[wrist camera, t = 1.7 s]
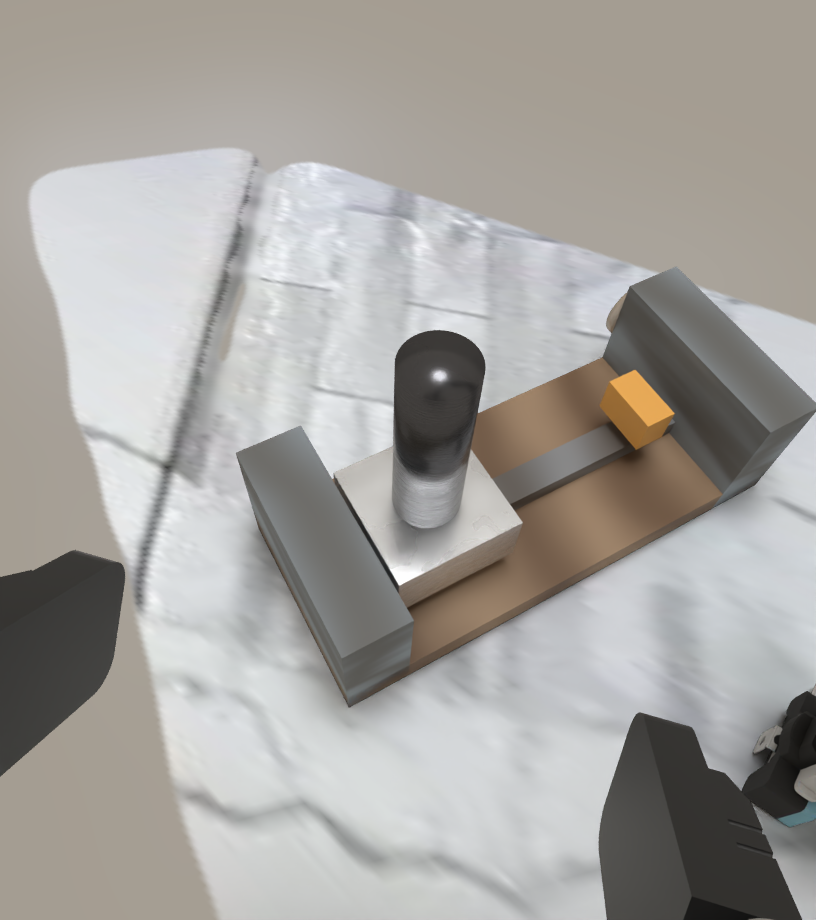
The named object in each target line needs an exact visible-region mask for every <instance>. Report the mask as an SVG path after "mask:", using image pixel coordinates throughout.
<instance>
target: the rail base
mask: <svg viewBox="0 0 816 920" xmlns="http://www.w3.org/2000/svg"><path fill="white" fill-rule="evenodd" d="M606 326H607V329H608V330H609V331H610V332H611V333H612V334H611V337H610V339H609V342H608V345H607V347H606V350H605V352H604V355H603V357H602V358H600V359H598V360H596V361H594V362H591V363H589V364H587V365H585V366H582V367H580V368H578V369H576V370H574V371H571V372H569V373H567V374H565V375H562V376H560V377H558V378H556V379H554V380H551V381H549V382H547V383H545V384H542V385H540V386H538V387H536V388H534V389H531V390H529V391H527V392H525V393H522V394H520V395H518V396H516V397H514V398H511V399H509V400H507V401H505V402H503V403H500V404H498V405H496V406H494V407H491V408H489V409H487V410H485V411H483V412H480V413H478V414H477V418H476V424H475V429H474V435H473V440H472V446H471V450H472V451H473V453H474V454H475V456H476V457H477V458H478V460H479V461H480V463H481V464H482V466H483V467H484V468H485V470H486V471H487V473H488V474H489V475H490V477H491V478H492V480H493V481H494V482H495V484H496V485H497V487H498V488H499V490H500V491H501V492H502V494H503V495H504V497H505V498H506V499H507V501H508V502H509V504H510V505H511V507H512V508H513V509H514V511H515V512H516V514H517V515H518V516H519V518H520V519H521V521H522V522H523V524H522V527H521V530H520V533H519V536H518V538H517V541H516V544H515V547H514V550H513V553H511V554H509V555H507V556H505V557H503V558H502V559H500V560H498V561H496V562H494V563H492V564H490V565H488V566H486V567H484V568H482V569H480V570H478V571H477V572H475V573H473V574H471V575H469V576H467V577H465V578H463V579H461V580H459V581H457V582H455V583H453V584H451V585H450V586H448V587H446V588H444V589H442V590H440V591H438V592H436V593H434V594H432V595H430V596H428V597H426V598H425V599H423V600H421V601H419V602H417V603H415V604H413V605H411V606H409V607H407V608H406V606H405V604H404V602H403V601H402V599H401V597H400V595H399V594H398V592H397V590H396V589H395V587H394V585H393V583H392V582H391V580H390V578H389V577H388V575H387V573H386V571H385V570H384V568H383V566H382V564H381V563H380V561H379V559H378V558H377V556H376V554H375V552H374V551H373V549H372V547H371V546H370V544H369V542H368V540H367V539H366V537H365V535H364V533H363V532H362V530H361V528H360V527H359V525H358V523H357V521H356V520H355V518H354V516H353V515H352V513H351V511H350V509H349V508H348V506H347V504H346V502H345V501H344V499H343V497H342V496H341V494H340V492H339V490H338V489H337V487H336V485H335V483H334V479H332V478H331V477H330V475H329V473H328V472H327V470H326V468H325V466H324V465H323V463H322V461H321V459H320V458H319V456H318V454H317V453H316V451H315V449H314V447H313V446H312V444H311V442H310V441H309V439H308V437H307V435H306V434H305V432H304V430H303V428H302V427H301V426H298V427H296V428H294V429H291V430H289V431H287V432H284V433H282V434H279V435H277V436H275V437H272V438H270V439H268V440H265V441H263V442H261V443H258V444H256V445H253V446H251V447H249V448H246V449H244V450H242V451H239V452H237V453H236V455H237V458H238V462H239V465H240V468H241V472H242V475H243V478H244V481H245V485H246V488H247V491H248V495H249V498H250V501H251V504H252V508H253V511H254V514H255V517H256V521H257V524H258V527H259V530H260V532H261V534H262V536H263V538H264V540H265V542H266V544H267V546H268V548H269V550H270V552H271V554H272V556H273V558H274V559H275V561H276V563H277V565H278V567H279V569H280V571H281V573H282V575H283V577H284V579H285V581H286V583H287V585H288V587H289V589H290V591H291V593H292V595H293V597H294V599H295V601H296V603H297V605H298V607H299V609H300V611H301V613H302V615H303V617H304V619H305V621H306V623H307V625H308V627H309V629H310V631H311V633H312V635H313V637H314V639H315V641H316V643H317V645H318V647H319V649H320V651H321V653H322V655H323V657H324V659H325V661H326V663H327V665H328V667H329V669H330V671H331V673H332V675H333V677H334V679H335V681H336V683H337V685H338V687H339V689H340V691H341V693H342V695H343V697H344V699H345V700H346V702H347V704H348V706H349V707H351V706H353V705H354V704H356V703H358V702H360V701H362V700H364V699H365V698H367V697H369V696H371V695H373V694H374V693H376V692H378V691H380V690H382V689H384V688H385V687H387V686H389V685H391V684H393V683H395V682H396V681H398V680H400V679H402V678H404V677H406V676H407V675H409V674H411V673H413V672H415V671H416V670H418V669H420V668H422V667H424V666H426V665H427V664H429V663H431V662H433V661H435V660H437V659H438V658H440V657H442V656H444V655H446V654H447V653H449V652H451V651H453V650H455V649H457V648H458V647H460V646H462V645H464V644H466V643H468V642H469V641H471V640H473V639H475V638H477V637H478V636H480V635H482V634H484V633H486V632H488V631H489V630H491V629H493V628H495V627H497V626H499V625H500V624H502V623H504V622H506V621H508V620H509V619H511V618H513V617H515V616H517V615H519V614H520V613H522V612H524V611H526V610H528V609H530V608H531V607H533V606H535V605H537V604H539V603H541V602H542V601H544V600H546V599H548V598H550V597H551V596H553V595H555V594H557V593H559V592H561V591H562V590H564V589H566V588H568V587H570V586H572V585H573V584H575V583H577V582H579V581H581V580H582V579H584V578H586V577H588V576H590V575H592V574H593V573H595V572H597V571H599V570H601V569H603V568H604V567H606V566H608V565H610V564H612V563H613V562H615V561H617V560H619V559H621V558H623V557H624V556H626V555H628V554H630V553H632V552H634V551H635V550H637V549H639V548H641V547H643V546H644V545H646V544H648V543H650V542H652V541H654V540H655V539H657V538H659V537H661V536H663V535H665V534H666V533H668V532H670V531H672V530H674V529H675V528H677V527H679V526H681V525H683V524H685V523H686V522H688V521H690V520H692V519H694V518H696V517H697V516H699V515H701V514H703V513H705V512H707V511H708V510H710V509H712V508H714V507H716V506H717V505H719V504H721V503H723V502H725V501H727V500H728V499H730V498H732V497H734V496H736V495H738V494H739V493H741V492H743V491H745V490H747V489H748V488H750V487H752V486H754V485H755V484H756V483H757V482H758V481H759V479H760V478H761V477H762V476H763V475H764V473H765V472H766V471H767V470H768V469H769V467H770V466H771V465H772V464H773V463H774V461H775V460H776V459H777V458H778V457H779V455H780V454H781V453H782V452H783V451H784V449H785V448H786V447H787V446H788V445H789V443H790V442H791V441H792V440H793V439H794V437H795V436H796V435H797V434H798V433H799V431H800V430H801V429H802V428H803V427H804V425H805V424H806V423H807V422H808V421H809V419H810V418H811V417H812V416H813V415H814V413H815V412H816V403H815V402H814V401H813V400H812V399H811V398H810V397H809V396H808V395H807V394H806V393H805V392H804V391H803V390H802V389H801V388H800V387H799V386H798V385H797V384H796V383H795V382H794V381H793V380H792V379H791V378H790V377H789V376H788V375H787V374H786V373H785V372H784V371H783V370H782V369H781V368H780V367H779V366H778V365H777V364H776V363H775V362H773V361H772V360H771V359H770V358H769V357H768V356H767V355H766V354H765V353H764V352H763V351H762V350H761V349H760V348H759V347H758V346H757V345H756V344H755V343H754V342H753V341H752V340H751V339H750V338H749V337H748V336H747V335H746V334H745V333H744V332H743V331H742V330H741V329H740V328H739V327H738V326H737V325H736V324H735V323H734V322H733V321H732V320H730V319H729V318H728V317H727V316H726V315H725V314H724V313H723V312H722V311H721V310H720V309H719V308H718V307H717V306H716V305H715V304H714V303H713V302H712V301H711V300H710V299H709V298H708V297H707V296H706V295H705V294H704V293H703V292H702V291H701V290H700V289H699V288H698V287H697V286H696V285H695V284H694V283H693V282H692V281H691V280H690V279H689V278H687V277H686V276H685V275H684V274H683V273H682V272H681V271H680V270H679V269H678V268H677V267H675V268H672V269H670V270H667V271H665V272H662V273H660V274H658V275H655V276H653V277H651V278H648V279H646V280H643V281H641V282H639V283H636V284H634V285H632V286H630V287H629V290H628V292H627V293H626V294H625V295H624V296H623V297H621V299H620V300H619V301H618V302H617V303H616V304H615V306H614V307H613V308H612V310H611V311H610V313H609V315H608V318H607V322H606ZM633 370H636V371H637V372H638V373H639V374H640V375H641V376H642V378H643V379H644V380H645V381H646V382H647V383H648V384H649V385H650V386H651V388H652V389H653V390H654V391H655V392H656V393H657V394H658V395H659V396H660V398H661V399H662V400H663V401H664V402H665V403H666V404H667V405H668V406H669V408H670V409H671V410H672V411H673V412H674V413H675V414H674V416H673V418H672V420H671V421H670V423H669V425H668V427H667V428H666V430H665V432H664V434H663V436H662V437H661V438H659V439H657V440H655V441H653V442H651V443H649V444H647V445H645V446H643V447H641V448H639V449H637V450H636V449H635V448H634V447H633V446H632V444H631V443H630V442H629V441H628V440H627V438H626V437H625V436H624V435H623V434H622V432H621V431H620V430H619V429H618V428H617V427H616V425H615V424H614V423H613V422H612V421H611V419H610V418H609V417H608V416H607V415H606V413H605V412H604V411H603V410H602V409H601V407H600V403H601V401H602V398H603V396H604V393H605V391H606V389H607V386H608V384H609V382H610V381H612V380H614V379H616V378H618V377H620V376H623V375H625V374H627V373H629V372H631V371H633Z"/></svg>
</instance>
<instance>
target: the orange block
mask: <svg viewBox="0 0 816 920" xmlns="http://www.w3.org/2000/svg"><path fill="white" fill-rule="evenodd" d="M600 407H601V409H602V410H603V411H604V412H605V413H606V415H607V416H608V417H609V418H610V419H611V421H612V422H613V423H614V424H615V425H616V427H617V428H618V429H619V430H620V431H621V432H622V434H623V435H624V436H625V437H626V438H627V440H628V441H629V442H630V443H631V444H632V446H633V447H634V448H635V449H636V450H637V449H639V448H641V447H643V446H645V445H647V444H649V443H651V442H653V441H655V440H657V439H659V438H661V437H662V436H663V434H664V432H665V430H666V428H667V427H668V425H669V423H670V421H671V420H672V418H673V416H674V414H675V413H674V412H673V411H672V410H671V409H670V408H669V406H668V405H667V404H666V403H665V402H664V401H663V400H662V399H661V398H660V396H659V395H658V394H657V393H656V392H655V391H654V390H653V389H652V388H651V386H650V385H649V384H648V383H647V382H646V381H645V380H644V379H643V378H642V376H641V375H640V374H639V373H638V372H637V371H636V370H633V371H631V372H629V373H627V374H625V375H623V376H620V377H618V378H616V379H614V380H612V381H610V382H609V384H608V386H607V389H606V391H605V393H604V396H603V398H602V401H601V403H600Z"/></svg>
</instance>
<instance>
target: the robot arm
mask: <svg viewBox="0 0 816 920" xmlns="http://www.w3.org/2000/svg"><path fill="white" fill-rule="evenodd" d="M124 583H125V571H124V567H123V565H122V564H121V563H119V562H115V561H112V560H108V559H105V558H101V557H98V556H94V555H91V554H87V553H84V552H80V551H76V550H74V551H70V552H68V553H66V554H64V555H62V556H60V557H58V558H57V559H55V560H53V561H51V562H49V563H47V564H45V565H43V566H41V567H39V568H37V569H35V570H34V571H32V570H30V571H25V572H21V573H17V574H12V575H8V576H3V577H0V776H1V775H3V774H4V773H5V772H6V771H7V770H8V769H9V768H11V767H12V766H13V765H14V764H15V763H16V762H17V761H19V760H20V759H21V758H22V757H23V756H24V755H25V754H27V753H28V752H29V751H30V750H31V749H32V748H33V747H35V746H36V745H37V744H38V743H39V742H40V741H41V740H43V739H44V738H45V737H46V736H47V735H48V734H49V733H50V732H52V731H53V730H54V729H55V728H56V727H57V726H58V725H60V724H61V723H62V722H63V721H64V720H65V719H67V718H68V717H69V716H70V715H71V714H72V713H73V712H75V711H76V710H77V709H78V708H79V707H80V706H81V705H82V704H84V703H85V702H86V701H87V700H88V699H89V698H90V697H91V696H93V695H94V694H95V693H96V692H97V690H98V689H99V688H100V687H101V685H102V684H103V682H104V680H105V678H106V676H107V674H108V672H109V670H110V667H111V664H112V661H113V657H114V651H115V645H116V638H117V631H118V624H119V617H120V611H121V603H122V597H123V590H124ZM762 830H763V829H762V827H761V824H760V822H759V820H758V818H757V815H756V813H755V811H754V809H753V806H752V804H751V802H750V800H749V799H748V798H747V797H746V796H745V795H744V794H743V793H742V792H741V790H740V789H739V788H738V787H737V786H736V785H735V784H734V783H733V782H732V781H731V779H730V778H729V777H728V776H727V775H726V774H725V773H723V772H719V771H716V770H712V769H709V768H708V766H707V764H706V761H705V758H704V756H703V753H702V751H701V748H700V745H699V743H698V740H697V737H696V735H695V732H694V730H693V729H692V727H689V726H686V725H682V724H679V723H675V722H672V721H668V720H665V719H661V718H658V717H654V716H651V715H647V714H644V713H638V714H636V716H635V717H634V719H633V721H632V723H631V725H630V728H629V731H628V734H627V737H626V740H625V743H624V746H623V750H622V753H621V756H620V759H619V762H618V765H617V768H616V771H615V774H614V777H613V780H612V783H611V786H610V789H609V792H608V795H607V798H606V802H605V805H604V809H603V813H602V818H601V823H600V831H599V856H600V865H601V873H602V882H603V890H604V899H605V907H606V915H607V920H802V918H801V916H800V913H799V911H798V909H797V907H796V904H795V902H794V900H793V898H792V895H791V893H790V891H789V888H788V886H787V884H786V882H785V879H784V877H783V875H782V872H781V870H780V868H779V866H778V863H777V861H776V859H773V858H772V855H773V852H772V850H771V847H770V845H769V843H768V840H767V838H766V836H765V835H763V834H762Z"/></svg>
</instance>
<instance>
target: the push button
mask: <svg viewBox="0 0 816 920" xmlns="http://www.w3.org/2000/svg"><path fill="white" fill-rule="evenodd" d="M786 714H787V717H786V719H785V722H784V724H783V726H782V728H781V727H779V726H777V725H776V726H775V728H774V727H772V728H770V729H769V730H767V731H765V732H763V734H762V735H761V736H760V738H759V740H758V742H757V744H756V747H755V749H754V754H757V753H759V752H761V751H763V750H765V749H766V748H768V749H770V750H771V752H770V754H769V756H768V758H767V761H766V763H765V765H764V766H763V767H761V768H760V769H758V770H757V771H755V772H754V773H753V774H751V775H750V776H749V777H748V779H747V781H746V783H745V785H744V787H743V789H742V793H743V794H744V795H745V796H746V797H747V798H748V799H749V800H751V801H752V802H754V803H755V804H756V805H758V806H759V807H761V808H762V809H764V810H765V811H766V812H768V813H769V814H771V815H772V816H774V817H775V818H776V819H778V820H780V821H781V822H782V823H784V824H785V825H787V826H788V827H793V826H794V825H798V824H801V823H805V822H809V821H813V820H814V819H816V684H815V687H814V689H813V691H812V693H810V692H808V691H806V692H804V693H803V694H801V695H799V696H797V697H796V698H794V699H793V700H792V701H791V703H790V705H789V707H788V709H787V712H786ZM764 738H765V740H764ZM763 740H764V742H763V743H762V741H763ZM761 743H762V744H761Z"/></svg>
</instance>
